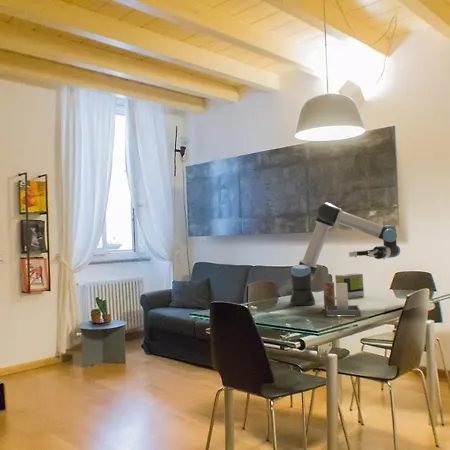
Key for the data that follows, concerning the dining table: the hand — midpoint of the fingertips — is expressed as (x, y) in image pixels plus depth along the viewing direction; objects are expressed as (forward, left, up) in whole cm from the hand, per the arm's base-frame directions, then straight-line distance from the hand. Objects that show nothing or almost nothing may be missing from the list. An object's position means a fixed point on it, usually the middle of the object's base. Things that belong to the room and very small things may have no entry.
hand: (359, 254), depth 282 cm
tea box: (-4, +47, -30) cm, 56 cm away
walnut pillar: (-18, -3, -30) cm, 35 cm away
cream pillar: (-11, -19, -29) cm, 37 cm away
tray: (-11, -19, -30) cm, 38 cm away
